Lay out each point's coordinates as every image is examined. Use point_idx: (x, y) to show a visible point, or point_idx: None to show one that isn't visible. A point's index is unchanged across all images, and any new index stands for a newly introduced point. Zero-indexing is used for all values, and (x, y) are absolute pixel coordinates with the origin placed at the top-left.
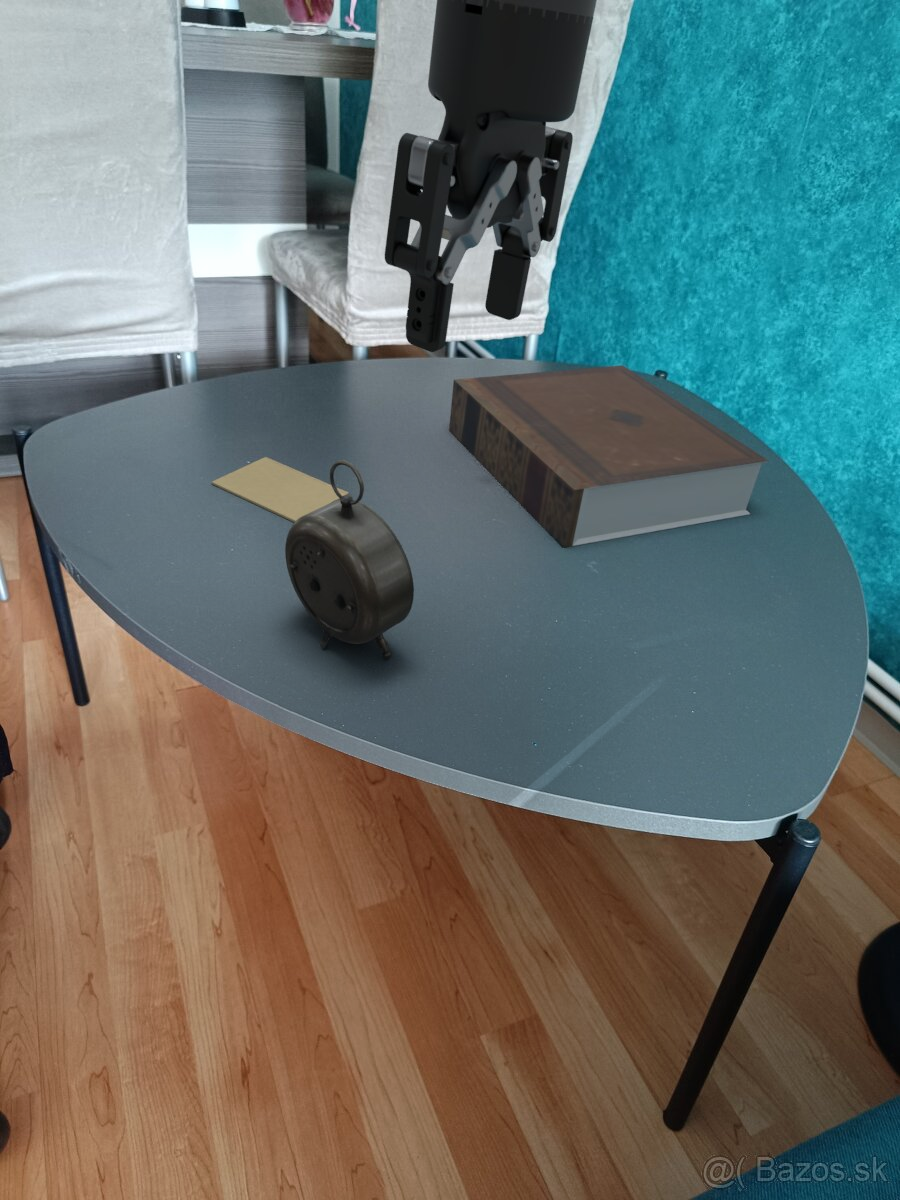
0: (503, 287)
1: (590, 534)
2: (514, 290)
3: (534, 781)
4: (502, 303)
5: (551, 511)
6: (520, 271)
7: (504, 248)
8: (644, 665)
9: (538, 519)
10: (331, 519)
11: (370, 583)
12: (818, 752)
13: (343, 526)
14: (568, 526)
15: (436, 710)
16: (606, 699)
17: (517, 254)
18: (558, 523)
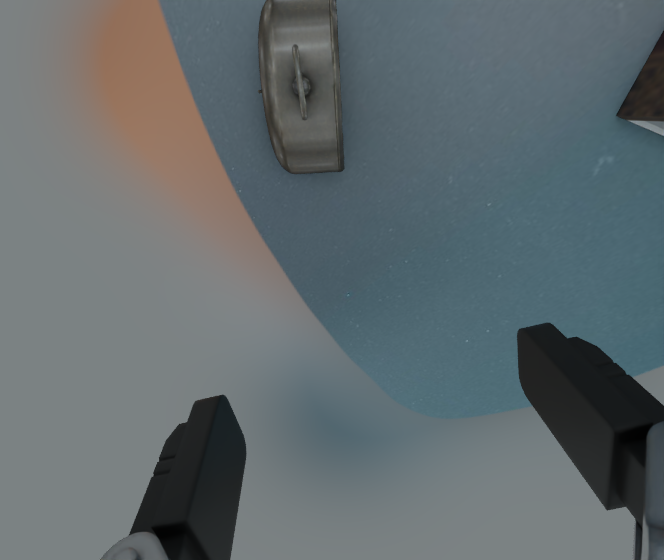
0: (555, 399)
1: (657, 125)
2: (557, 425)
3: (320, 316)
4: (534, 377)
5: (660, 75)
6: (586, 473)
7: (632, 461)
8: (489, 290)
9: (655, 50)
10: (280, 82)
11: (285, 166)
12: (491, 407)
13: (284, 106)
14: (638, 116)
15: (313, 224)
16: (429, 296)
17: (623, 491)
18: (643, 96)
